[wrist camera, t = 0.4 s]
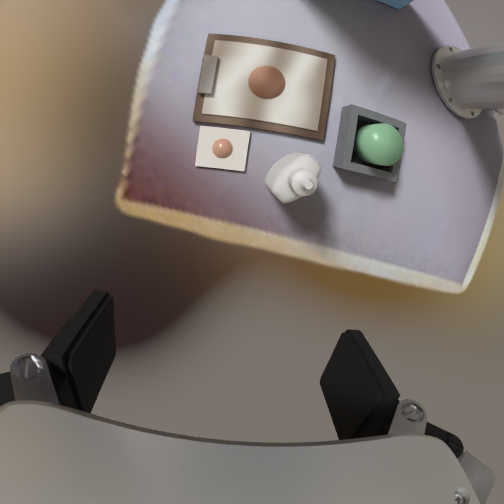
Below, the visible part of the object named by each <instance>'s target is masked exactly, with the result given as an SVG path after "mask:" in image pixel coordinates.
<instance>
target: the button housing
mask: <svg viewBox="0 0 504 504" xmlns="http://www.w3.org/2000/svg"><path fill="white" fill-rule="evenodd" d="M357 119H358V120H362V121H365V122H368V123H371V124H381V123H385V124H389V125H391V126H393V127H394V128H395V129H396V130H397V131H398V132H399V134H400V135H401V138H402V141H403V144H404V137H405V130H406V123H404V122H402V121H399V120H396V119H394V118H391V117H388V116H385V115H382V114H380V113H377V112H374V111H371V110H368V109H364V108H361V107H358V106H355V105H349V106H346V107H342V112H341V119H340V126H339V132H338V139H337V145H336V151H335V157H334V163H333V167H338V168H342V169H346V170H351V171H355V172H359V173H363V174H367V175H371V176H375V177H379V178H383V179H386V180H390V181H394V182H397V178H398V173H399V168H400V162H401V157H400V159H399V160H398V161H397V162H396V163H395V164H393V165H390V166H383V165H381V170H379V169H376V168H372V167H368V166H364V165H360V164H356V163H352V162H351V157H352V152H353V146H354V139H355V133H356V126H357ZM401 156H402V155H401Z"/></svg>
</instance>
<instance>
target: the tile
mask: <svg viewBox="0 0 504 504" xmlns="http://www.w3.org/2000/svg"><path fill="white" fill-rule="evenodd" d="M249 137H250V131H244V130H236V129H228V128H219V127H209V126H200V132H199V140H198V147H197V155H196V163H195V166H201V167H211V168H220V169H228V170H237V171H245V164H246V157H247V150H248V143H249Z"/></svg>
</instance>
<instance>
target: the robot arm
mask: <svg viewBox="0 0 504 504" xmlns="http://www.w3.org/2000/svg"><path fill="white" fill-rule="evenodd" d="M431 68H432V76H433V80H434V83H435V86H436V89H437V91H438V93H439V95H440V97H441V99H442V100H443V102H444V103H445V104H446V106H447V107H448V108H449V109H450V110H451V111H452V112H453V113H454V114H456V115H457V116H459V117H462V118H467V119H468V118H475V117H477V116H478V115H479V114H480V113H481V112H482V110H483V109H493V110H494V111H496V112H497V113H498V114H500V115H503V114H504V42H500V43H495V44H490V45H485V46H481V47H476V48H472V49H468V50H464V51H462V50H461V49H459V48H457V47H454V46H449V45H447V46H443V47H441V48H439V49H438V50H436V51H435V53H434V55H433V58H432V66H431ZM115 355H116V342H115V327H114V304H113V297H110V295H109V293H108V292H104V291H100V290H94V291H93V292H92V293H91V295H90V296H89V297H88V298H87V300H86V301H85V302H84V303H83V304H82V306H81V307H80V308H79V309H78V311H77V312H76V313H75V315H74V316H72V317H70V318H69V319H68V320H67V321H66V323H65V324H64V325H63V326H62V328H61V329H60V330H59V332H58V333H57V334H56V335H55V337H54V338H53V340H52V341H51V342H50V344H49V345H48V346H47V348H46V349H45V350H44V352H43V353H42V355H41V356H40V355H38V354H35V353H24V354H21V355H19V356H17V357H16V358H15V359H14V360H13V361H12V363H11V365H10V372H6V373H2V374H0V504H485V502H486V500H487V498H488V496H489V493H490V491H491V489H492V487H493V485H494V481H495V476H494V473H493V471H492V470H491V469H490V468H488V467H487V466H486V465H484V464H483V463H481V461H479V460H478V459H477V458H475V457H474V456H473V455H471V454H470V453H469V452H468V451H466V452H463V444H462V442H461V440H460V439H459V438H458V437H457V436H455V435H453V434H451V433H449V432H447V431H445V430H443V429H441V428H439V427H437V426H435V425H432V424H430V423H428V422H427V412H426V410H425V409H424V407H423V406H422V405H421V404H420V403H418V402H416V401H413V400H409V399H406V400H402V401H401V402H399V400H398V398H399V396H400V394H399V392H398V391H397V389H396V387H395V385H394V384H393V382H392V381H391V379H390V377H389V375H388V374H387V372H386V371H385V369H384V367H383V366H382V364H381V362H380V361H379V359H378V357H377V356H376V355H375V353H374V351H373V350H372V348H371V346H370V345H369V343H368V342H367V340H366V338H365V337H364V335H363V334H362V332H361V331H359V330H346V331H345V333H342V334H341V336H340V338H339V340H338V343H337V345H336V347H335V349H334V351H333V353H332V356H331V358H330V360H329V362H328V364H327V366H326V368H325V370H324V372H323V374H322V376H321V379H320V386H321V388H322V391H323V394H324V397H325V400H326V403H327V406H328V408H329V412H330V414H331V417H332V420H333V423H334V426H335V429H336V432H337V435H338V438H339V440H335V441H320V442H297V443H296V442H293V443H292V442H290V443H274V442H270V443H269V442H246V441H231V440H220V439H211V438H202V437H194V436H187V435H181V434H174V433H169V432H164V431H158V430H153V429H149V428H144V427H140V426H135V425H131V424H127V423H123V422H119V421H115V420H111V419H108V418H104V417H100V416H97V415H94V414H90V413H91V411H92V408H93V406H94V403H95V401H96V399H97V396H98V394H99V392H100V389H101V387H102V385H103V382H104V380H105V378H106V375H107V373H108V371H109V369H110V367H111V364H112V362H113V360H114V358H115Z"/></svg>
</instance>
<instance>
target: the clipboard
mask: <svg viewBox="0 0 504 504" xmlns="http://www.w3.org/2000/svg"><path fill="white" fill-rule="evenodd" d="M334 61H335V55H332V54H329V53H325V52H321V51H318V50H314V49H310V48H305V47H301V46H296V45H292V44H287V43H282V42H276V41H270V40H264V39H258V38H251V37H243V36H233V35H222V34H208V38H207V43H206V48H205V52H204V57H203V63H202V68H201V73H200V79H199V84H198V90H197V96H196V102H195V108H194V115H193V121H195V122H207V123H217V124H226V125H235V126H242V127H250V128H257V129H263V130H270V131H276V132H282V133H287V134H293V135H298V136H303V137H308V138H313V139H317V140H322V141H323V140H324V134H325V128H326V121H327V114H328V107H329V100H330V93H331V86H332V78H333V70H334Z"/></svg>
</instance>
